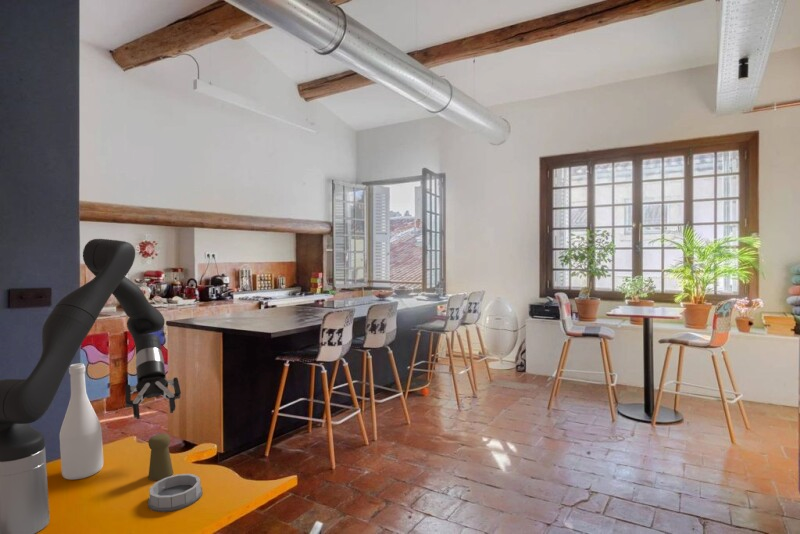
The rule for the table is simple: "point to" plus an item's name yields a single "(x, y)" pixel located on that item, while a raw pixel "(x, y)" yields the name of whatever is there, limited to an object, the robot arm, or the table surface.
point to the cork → (160, 457)
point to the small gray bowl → (175, 493)
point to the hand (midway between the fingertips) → (155, 414)
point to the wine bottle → (80, 432)
